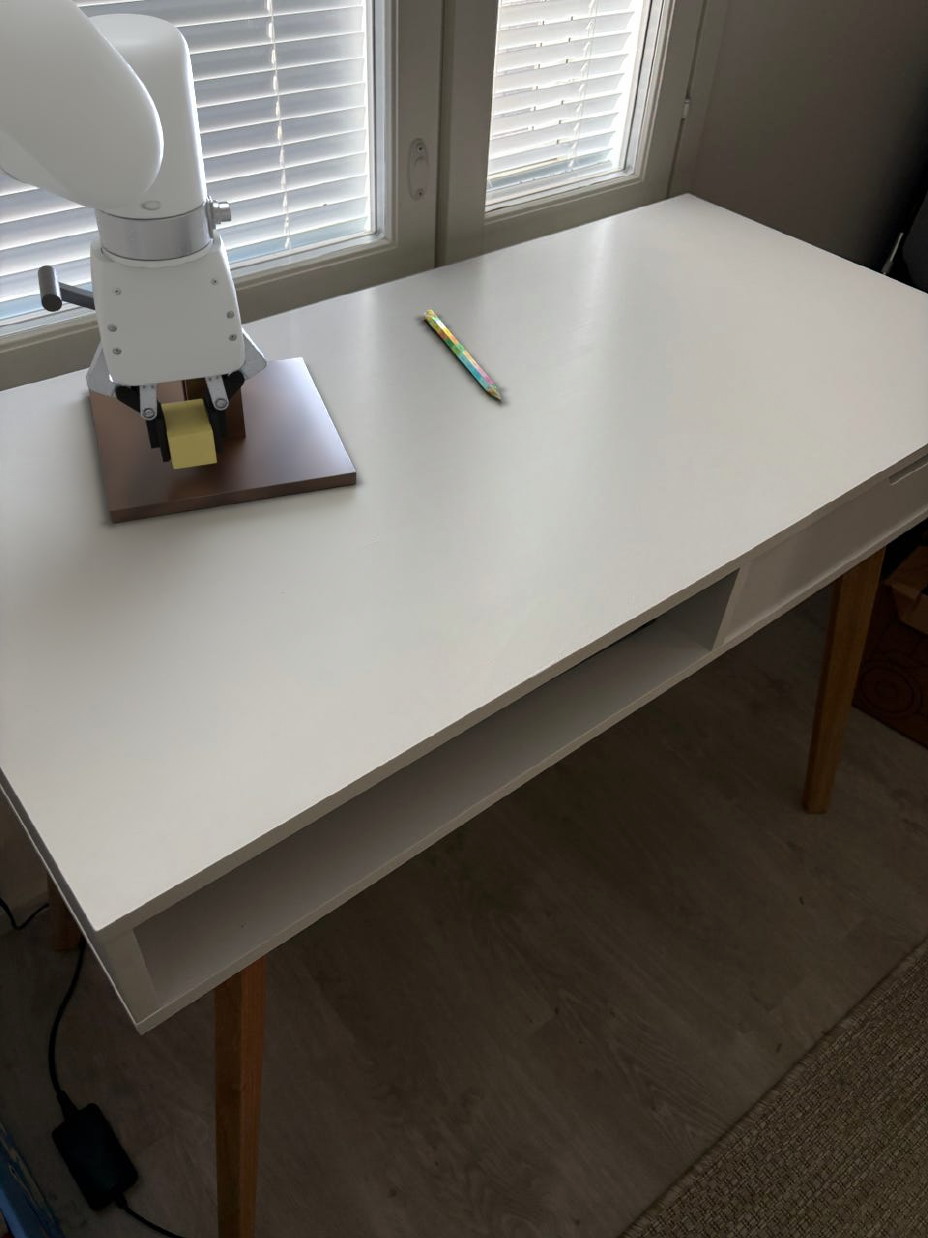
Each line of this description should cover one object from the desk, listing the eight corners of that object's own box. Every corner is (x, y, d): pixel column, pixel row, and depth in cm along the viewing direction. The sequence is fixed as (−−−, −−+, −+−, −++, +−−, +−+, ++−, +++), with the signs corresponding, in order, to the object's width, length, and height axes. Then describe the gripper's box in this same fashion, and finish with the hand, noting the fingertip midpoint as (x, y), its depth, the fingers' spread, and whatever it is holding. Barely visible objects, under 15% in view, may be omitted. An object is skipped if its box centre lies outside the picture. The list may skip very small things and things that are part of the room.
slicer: (112, 523, 80) (81, 392, 72) (89, 394, 93) (62, 271, 85) (356, 483, 86) (353, 358, 78) (302, 367, 99) (295, 250, 91)
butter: (217, 463, 81) (212, 431, 79) (173, 469, 80) (168, 437, 78) (206, 429, 84) (202, 398, 82) (165, 435, 83) (159, 403, 81)
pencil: (506, 403, 97) (433, 318, 108) (507, 393, 96) (433, 308, 108) (494, 405, 96) (422, 319, 108) (495, 395, 96) (422, 310, 107)
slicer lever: (37, 314, 75) (45, 285, 73) (34, 285, 78) (41, 256, 77) (220, 365, 82) (230, 339, 81) (210, 336, 86) (219, 311, 85)
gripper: (263, 194, 74) (281, 410, 87) (24, 213, 70) (80, 438, 82) (285, 235, 69) (301, 458, 82) (30, 259, 65) (88, 491, 77)
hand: (190, 446), depth 82 cm, fingers closed on butter, 3 cm apart
